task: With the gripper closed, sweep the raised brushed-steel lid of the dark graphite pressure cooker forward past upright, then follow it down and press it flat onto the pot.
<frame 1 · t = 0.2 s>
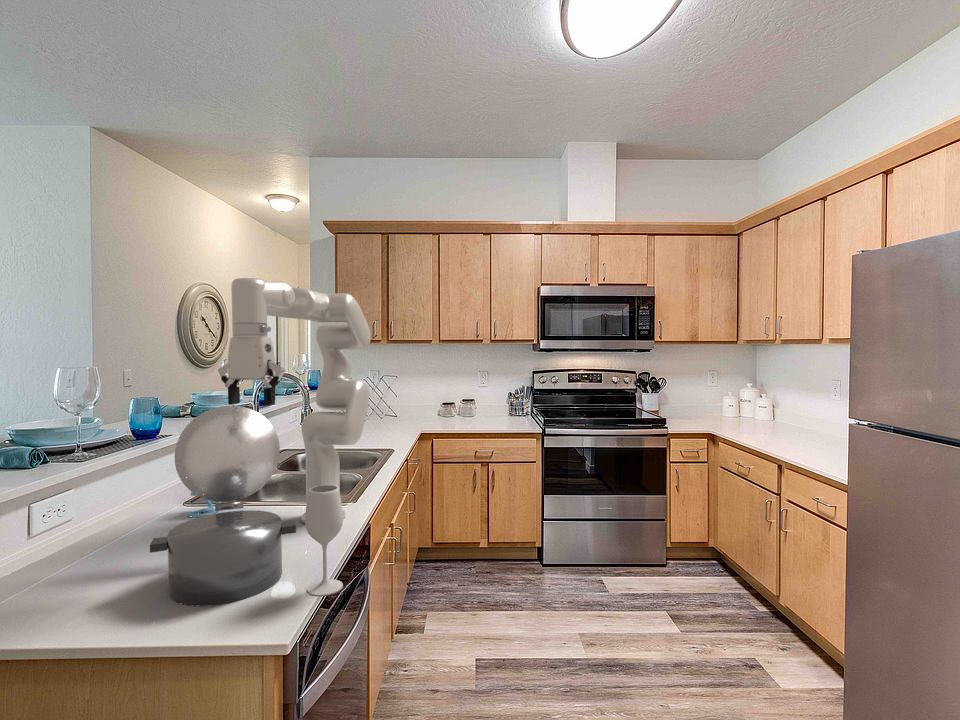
hand: (251, 404, 123), 37 cm above the worktop, tool pointing down, fingers open, 9 cm apart
wineglass: (325, 588, 110), on the worktop
cooker: (227, 581, 114), on the worktop
lid: (229, 457, 128), point 24 cm above the worktop, hinge at 104.0°
light blue angular piece: (208, 513, 161), on the worktop
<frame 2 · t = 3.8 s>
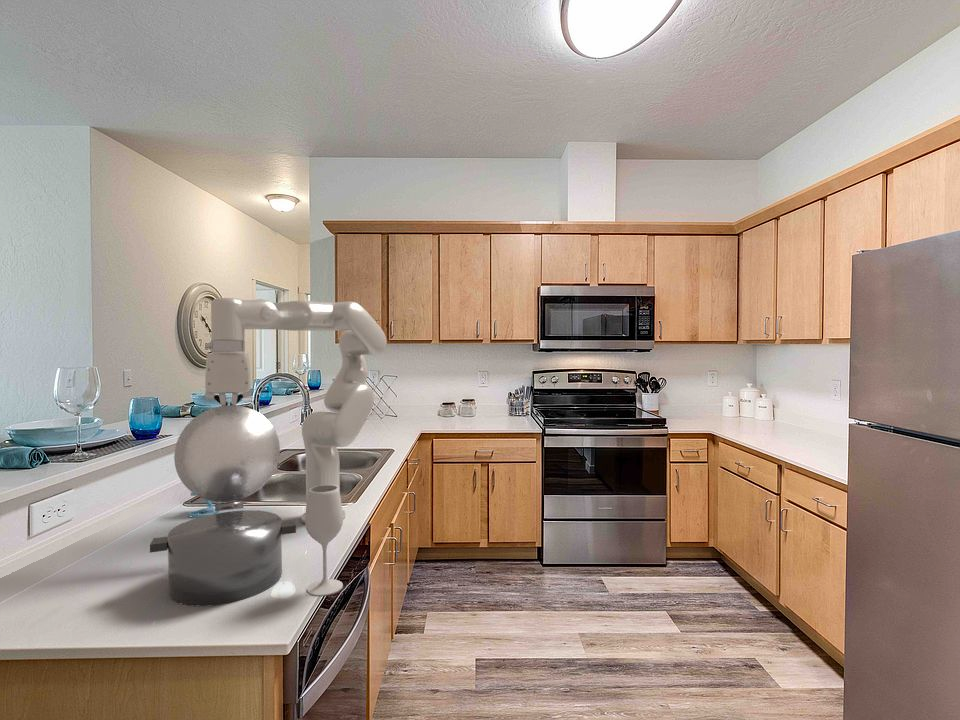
hand: (229, 420, 131), 32 cm above the worktop, tool pointing down, fingers closed
lid: (229, 456, 128), point 24 cm above the worktop, hinge at 102.1°, touching gripper
everything else where it was.
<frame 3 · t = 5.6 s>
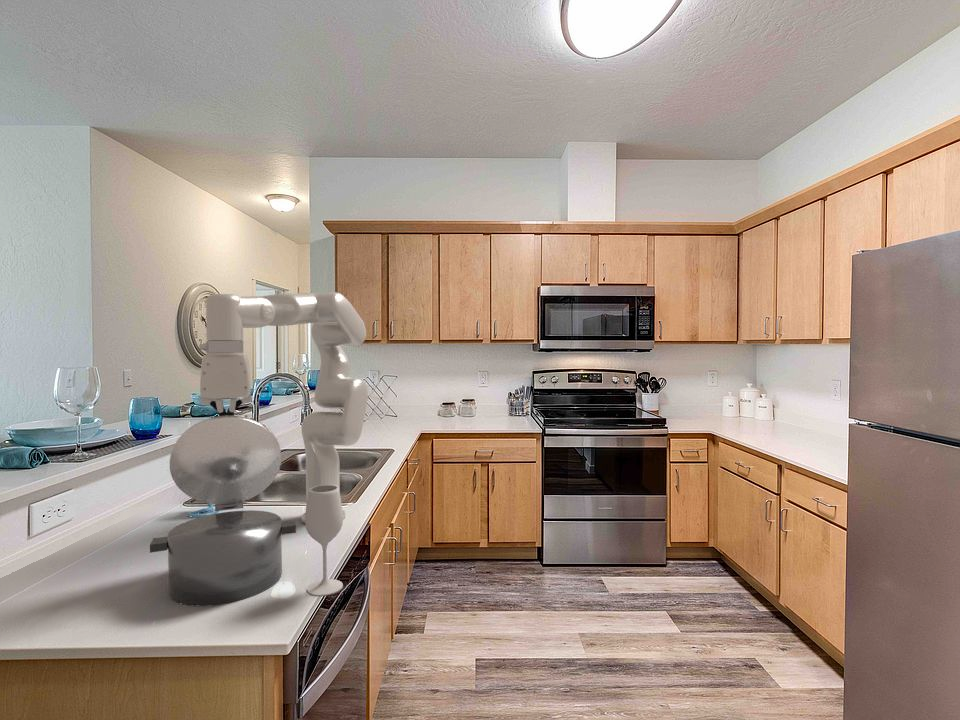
hand: (226, 429, 119), 32 cm above the worktop, tool pointing down, fingers closed
lid: (227, 462, 121), point 24 cm above the worktop, hinge at 68.2°, touching gripper
everything else where it was.
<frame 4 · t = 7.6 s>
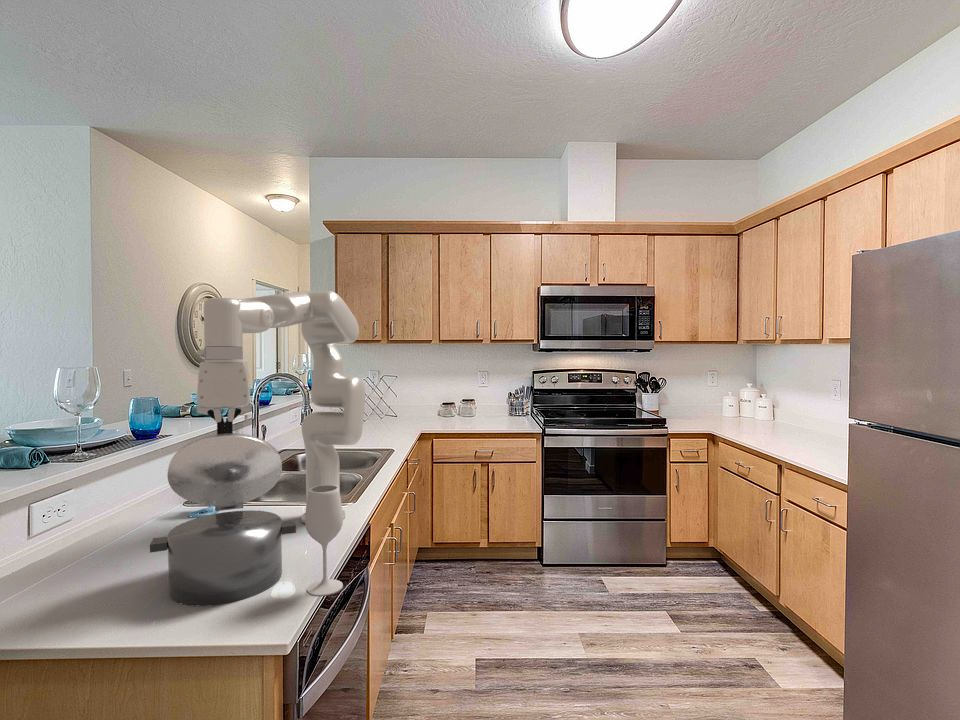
hand: (225, 439, 114), 31 cm above the worktop, tool pointing down, fingers closed
lid: (227, 471, 119), point 23 cm above the worktop, hinge at 52.2°, touching gripper
everything else where it was.
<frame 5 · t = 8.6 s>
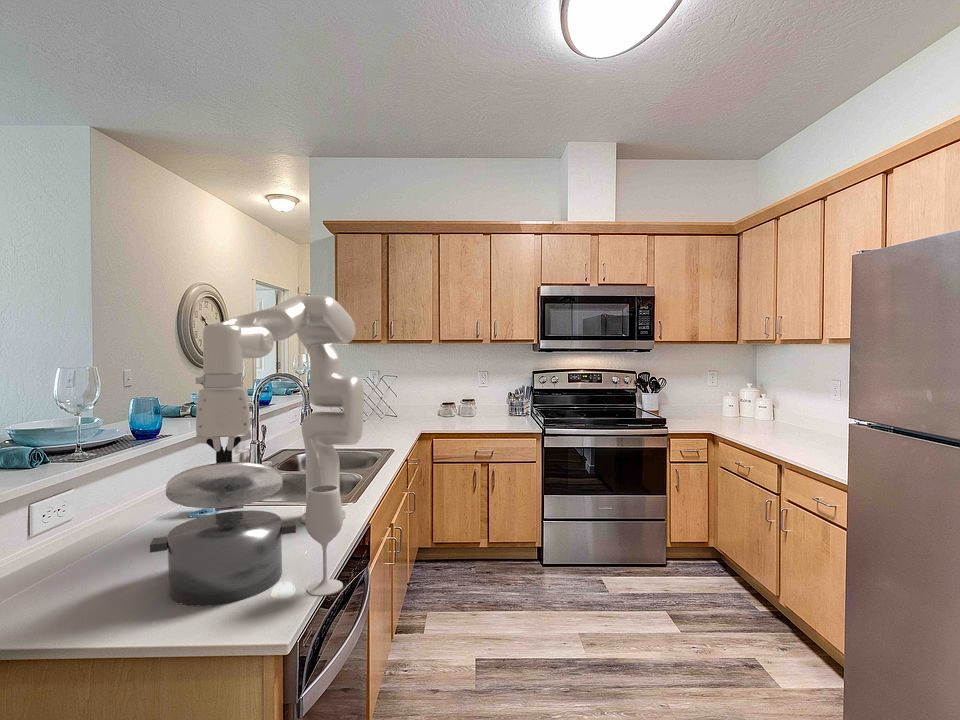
hand: (224, 468, 111), 25 cm above the worktop, tool pointing down, fingers closed
lid: (227, 484, 116), point 20 cm above the worktop, hinge at 34.6°, touching gripper
everything else where it was.
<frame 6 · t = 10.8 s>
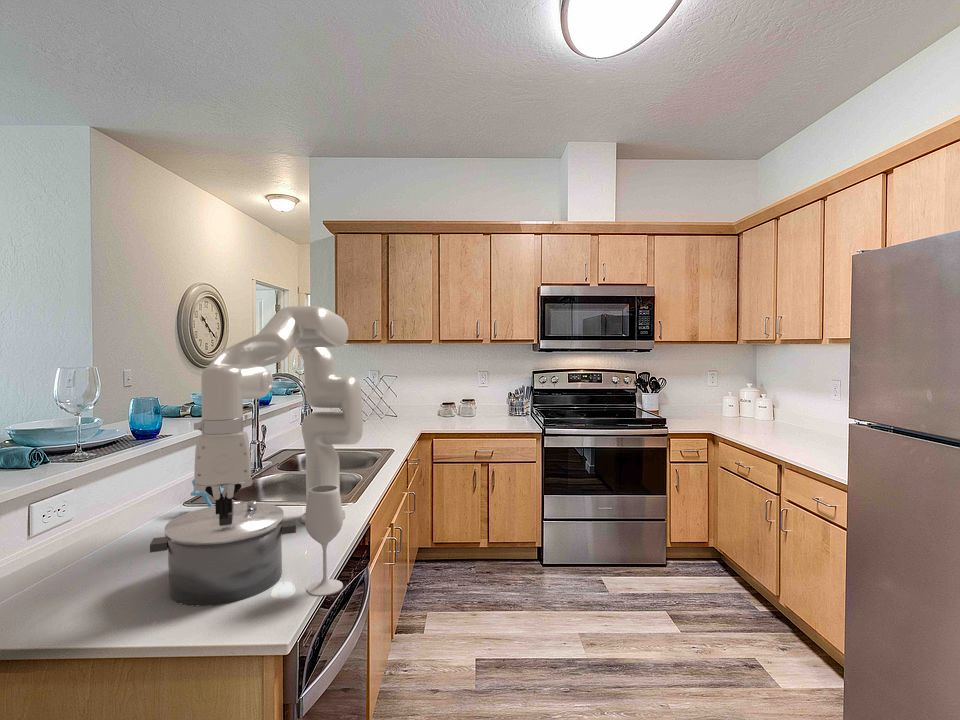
hand: (224, 516, 107), 16 cm above the worktop, tool pointing down, fingers closed
lid: (226, 516, 114), point 14 cm above the worktop, hinge at -0.2°
everything else where it was.
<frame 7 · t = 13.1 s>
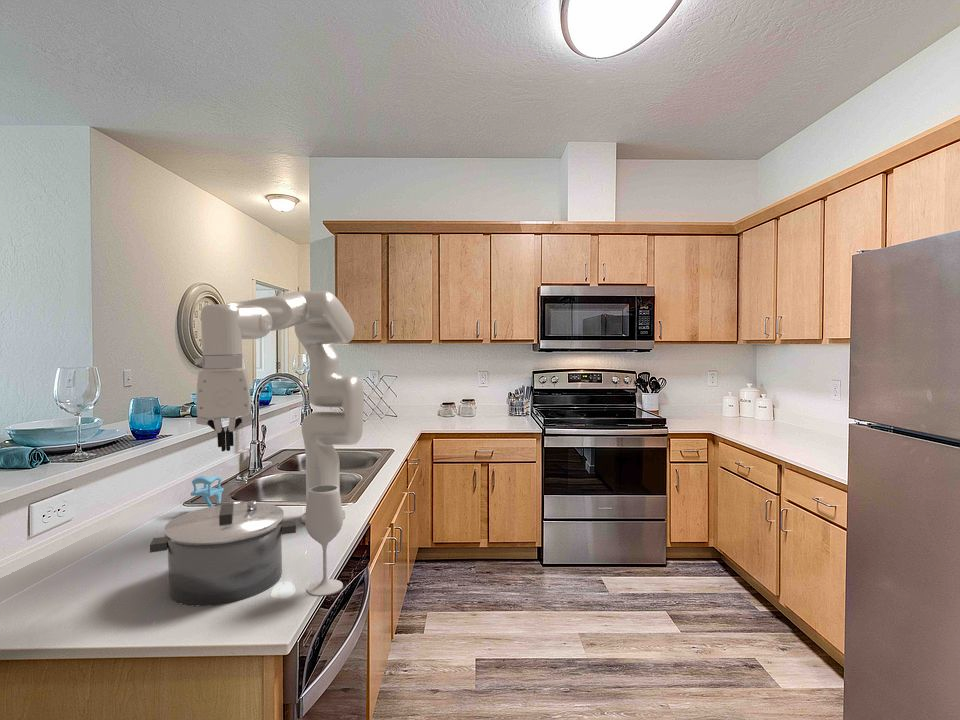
hand: (226, 449, 111), 29 cm above the worktop, tool pointing down, fingers closed
nothing on the worktop moved.
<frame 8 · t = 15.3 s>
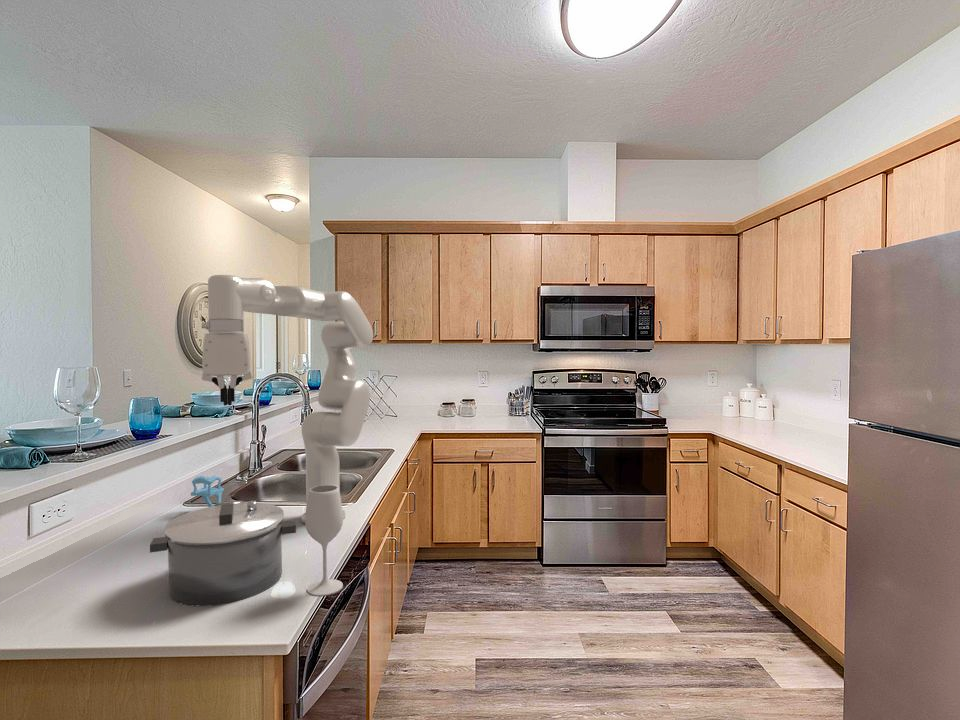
hand: (227, 404, 125), 37 cm above the worktop, tool pointing down, fingers closed
nothing on the worktop moved.
at the end: lid at +0° (first picture: +104°); wineglass moved 0.2 cm from its start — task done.
